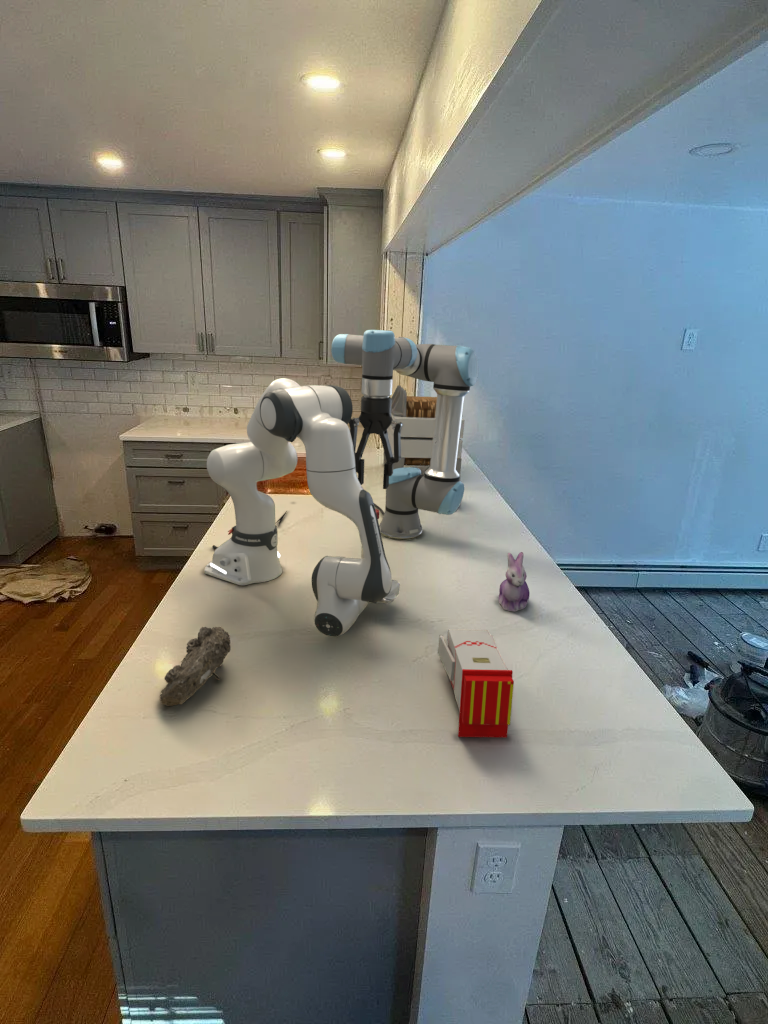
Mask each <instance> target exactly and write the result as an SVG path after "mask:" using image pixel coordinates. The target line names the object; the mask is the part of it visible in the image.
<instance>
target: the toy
mask: <svg viewBox="0 0 768 1024" xmlns="http://www.w3.org/2000/svg"><path fill="white" fill-rule="evenodd" d="M446 640H447V643H446V641H445V639H444V636H443V635H442V634H439V637H438V646H437V656H438V657H439V659H440V661H441V663H442V666H443V668H444V670H445V672H446V674H447V677H448V679H449V681H450V684H451V687H452V690H453V693H454V697H455V701H456V705H457V708H458V711H459V714H458V715H459V716H458V730H457V731H458V732H457V737H458V738H508V731H509V726H510V725H511V717H512V707H513V697H514V696H513V695H514V684H515V680H514V679H513V673H514V671H513V670H512V669H508V667H507V665H506V662H505V661H504V659H503V658H502V655H501V653H500V651H499V649H498V647H497V643H496V639H495V637H494V635H493V634H491V632H490V631H489V629H467V628H466V629H465V628H463V629H461V628H460V629H459V628H448V630H447V639H446Z"/></svg>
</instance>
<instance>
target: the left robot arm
mask: <svg viewBox="0 0 768 1024" xmlns="http://www.w3.org/2000/svg"><path fill="white" fill-rule="evenodd" d="M353 406H354V405H353V401H352V398H351V395H350V394H349V392H348V391H347V390H346V389H345V388H343V387H341V386H338V385H333V384H326V385H320V384H319V385H317V384H308V385H306V384H305V385H300V384H299V383H298V382H296V381H295V380H293V379H291V378H287V377H280V378H276V379H274V380H273V381H272V382H270V383H269V385H268V386H267V387H266V388H265V390H264V391H263V393H262V394H261V396H260V397H259V399H258V400H257V403H256V404H255V406H254V409H253V411H252V413H251V416H250V418H249V420H248V423H247V425H246V434H247V438H248V440H249V441H248V442H247V441H246V442H238V443H230V444H226V445H223V446H220V447H217V448H214V449H212V450H211V451H210V453H209V454H208V455H207V459H206V471H207V474H208V476H209V478H210V479H211V480H212V481H213V483H215V484H216V485H218V486H220V487H222V488H223V489H224V490H225V491H226V493H228V494H229V497H230V498H231V500H232V503H233V509H234V518H235V525H234V526H232V527H231V529H229V530H228V531H227V536H228V535H229V536H230V535H231V537H230V538H229V539H227V540H226V541H224V542H223V543H221V544H220V545H218V546H217V545H214V544H213V545H212V547H211V548H212V549H213V550H214V551H213V554H212V560H211V561H209V562H208V563H207V564H206V565H205V567H204V571H203V573H204V574H205V575H208V576H211V577H214V578H216V579H220V580H223V581H226V582H229V583H232V584H235V585H238V586H247V585H251V584H258V583H265V582H270V581H272V580H275V579H277V578H278V577H280V576H281V575H282V573H283V567H282V564H281V561H280V558H281V554H280V553H279V551H278V539H279V538H278V525H276V503H275V501H274V499H273V498H272V496H271V495H269V494H267V493H266V492H262V491H260V490H258V482H263V481H268V480H269V481H270V480H274V479H279V478H282V477H285V476H287V475H290V474H291V473H294V471H295V469H296V468H297V465H298V461H299V460H298V458H299V457H298V452H297V449H296V448H295V446H294V445H293V444H292V443H294V442H295V440H296V439H297V438H298V439H299V440H300V441H301V442H302V444H303V446H304V449H305V469H306V471H305V472H306V481H307V487H308V490H309V493H310V495H311V496H312V497H313V498H314V500H315V501H316V502H318V503H319V504H320V505H322V506H323V507H325V508H327V509H329V510H330V511H331V510H332V511H334V512H336V513H339V514H341V515H342V516H344V517H346V518H347V519H349V520H350V521H351V522H352V523H353V524H354V525H355V527H356V529H357V531H358V535H359V540H360V545H361V550H362V549H363V554H364V559H362V558H361V557H360V558H359V557H349V556H348V557H346V556H340V555H339V556H337V555H325V556H323V557H322V558H320V560H319V561H318V562H317V563H316V565H315V566H314V569H313V571H312V573H311V578H310V579H311V589H312V592H313V593H312V594H313V595H314V597H315V599H316V601H317V607H316V610H315V613H314V617H313V622H314V626H315V628H316V629H317V630H318V631H319V632H320V633H321V634H322V635H324V636H328V637H332V638H333V637H334V638H336V637H337V638H338V637H340V636H343V635H344V634H345V633H347V632H348V631H349V629H350V628H351V627H353V625H354V624H355V623H356V621H357V619H358V617H359V615H361V614H362V613H363V611H364V610H365V608H366V607H367V606H368V604H369V603H370V604H377V603H381V604H390V603H393V602H394V601H395V599H396V598H397V597H398V596H399V594H400V591H401V590H400V589H401V583H400V581H398V580H395V579H393V577H392V572H391V567H390V565H389V562H388V559H387V556H386V555H387V554H386V551H385V548H384V543H383V536H382V535H381V532H380V528H379V526H380V522H379V519H377V514H376V510H375V509H376V507H375V506H374V503H375V502H374V500H373V497H372V495H371V494H370V492H369V491H367V490H365V489H364V487H363V486H362V485H361V484H360V482H359V480H358V473H357V472H356V467H355V466H356V465H355V454H354V447H353V442H352V437H351V433H350V426H349V422H350V420H351V418H353V417H352V416H353V411H354V410H353V408H354V407H353Z"/></svg>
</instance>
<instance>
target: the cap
mask: <svg viewBox="0 0 768 1024" xmlns="http://www.w3.org/2000/svg"><path fill="white" fill-rule="evenodd" d="M375 510H376V514H377V519H378V520H379V519H380V510H379V509H378V508H375Z"/></svg>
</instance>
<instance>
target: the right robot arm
mask: <svg viewBox="0 0 768 1024" xmlns="http://www.w3.org/2000/svg"><path fill="white" fill-rule="evenodd" d="M330 351H331V356H332V358H333V360H334V361H335V362H336V363H339V364H343V365H355V366H362V367H361V368H362V369H361V371H362V373H361V391H360V392H361V395H362V396H361V398H360V415H359V416H358V417H351V420H350V422H349V423H348V427H349V429H350V433H351V437H352V442H353V447H354V454H355V465H356V466H355V467H356V473H357V477H358V480H359V482H360V484H361V486H362V485H364V484H365V483H364V482H365V458H363V455H364V451H365V449H366V447H367V443H368V441H369V438H370V436H371V435H372V434H373V435H374V434H375V435H379V439H380V441H381V445H382V448H383V454H384V453H385V456H386V460H387V462H386V463H385V464H383V478H382V479H383V480H382V489H383V490H385V504H384V505H385V507H384V508H385V509H384V510H383V509H382V507H380V506H379V505H377V504H376V503H375V502H373V503H374V506H375V509H378V510H379V512H380V513H381V514H382V519H381V522H379V526H380V528H381V536H382V537H385V538H387V539H389V540H395V541H410V540H415V539H418V538H420V537H421V536H422V535H423V525H422V524H421V518H420V515H419V510H421V511H426V512H430V513H436V514H439V515H446V516H447V515H448V516H451V515H453V514H454V513H456V512H457V510H458V509H459V508H460V505H461V503H462V502H463V501H462V500H463V497H464V493H465V483H464V482H462V481H461V480H460V481H459V477H460V478H461V474H460V475H459V474H458V472H457V471H456V462H457V454H458V445H459V436H460V428H461V419H463V410H464V402H465V401H464V400H465V397H466V395H467V394H469V393H470V390H471V389H470V388H471V387H474V386H475V385H476V384H477V382H478V378H479V359H478V356H477V353H476V351H475V350H474V349H473V348H472V347H469V346H462V345H451V344H450V345H449V344H436V343H435V344H434V343H419V344H416V343H415V342H414V341H413V340H412V339H410V338H408V337H404V336H403V337H401V336H398V337H395V332H394V331H392V330H385V329H383V330H382V329H367V330H365V331H364V332H363V335H360V334H349V333H344V334H343V333H340V334H337V335H335V336H334V337H333V340H332V342H331V349H330ZM394 372H396V373H397V374H399V375H400V376H406V377H409V378H413V379H417V380H420V381H424V382H430V383H433V385H432V389H433V390H434V391H435V393H436V397H437V402H436V411H435V421H434V431H433V441H432V451H431V460H430V466H428V468H427V469H426V470H424V474H422V470H421V468H419V467H415V466H411V467H409V466H406V467H405V466H404V468H397V469H393V464H394V463H397V462H399V461H400V460H401V429H402V426H403V423H402V422H396V421H394V420H393V419H392V417H391V405H392V399H391V398H392V396H393V380H394ZM360 424H361V426H362V428H363V431H362V434H361V437H360V439H359V444H358V446H357V438H358V426H359V425H360ZM390 425H392V429H393V430H394V457H393V454H392V450H391V446H390V442H389V438H388V432H387V429H388V427H389V426H390Z"/></svg>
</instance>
